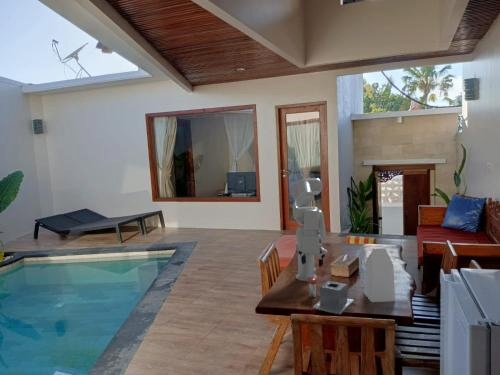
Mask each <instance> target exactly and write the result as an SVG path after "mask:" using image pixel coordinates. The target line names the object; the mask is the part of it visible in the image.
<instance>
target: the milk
mask: <svg viewBox="0 0 500 375" xmlns="http://www.w3.org/2000/svg"><path fill="white" fill-rule="evenodd" d="M394 268H395V267H394V263H393V261H392V259H391V256H390V254H389V253H388V251H387V249H386V248H385V247H373V248H372V250H371V252H370V254H369V255H368V257H367V258H366V260H365V273H364V274H365V275H364V288H363V289H364V291H363V293H364V295H365V296H366V298H367V297H368V298H367V299H368V300H369V301H370V302H371V303H382V302H384V303H385V302H396V294H395V293H396V292H395V272H394V270H395V269H394Z"/></svg>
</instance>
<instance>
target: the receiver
mask: <svg viewBox="0 0 500 375" xmlns="http://www.w3.org/2000/svg"><path fill="white" fill-rule="evenodd" d="M354 302H355V300H354V299H353V298H348V284H347V283H342V282H337V281H332V280H327V281H325V283H323V284H322V285H320V286H319V301H318V302H317V303H315V304H314V305H313V306H312V309H314V310H319V311H324V312H327V313H331V314H335V315H336V314H337V315H340V316H341V315H342V314H343V313H344V312H345V311H346V310H347V309H348V308H349V307H350V306H352V305H353V303H354Z"/></svg>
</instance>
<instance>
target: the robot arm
mask: <svg viewBox="0 0 500 375" xmlns="http://www.w3.org/2000/svg"><path fill="white" fill-rule="evenodd" d="M322 190H323V183H322V180H321V179H320V178H319V177H317V178H315V177H314V178H312V177H311V178H300V179H299V180H298V181H295V182H292V183H291V186H290V193H291V196H292V199H293V203H292V215H293V218H294V220H295V221H296V222H297V223H298V225H300V226H298V227H297V228H296V231H295V235H296V236H295V237H296V242H297V247H296V251H297V265H298V268H297V270H298V271H297V272H298V273H297V274H296V275H295V278H296V280H298V281H301V282H307V278H309V277H316V278H318V276H317V274H315V272H316V271H317V268H316V267H315V256H317V257H318V258H319V259H318V267H319V268H321V267H322V266H323V265H324V258H326V256H327V255H328V253H329V252H328V250H327V249H326V248H324V247H323V242H325V241H326V240H327V239H326V237H327V232H326V223H325V215H324V212H323V211H322V210H321V209H320V208H318V207H317V206H311V203H312V202H313V201H314V199H315V196H317V195H319V194H320V193H321V192H322Z"/></svg>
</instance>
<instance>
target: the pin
mask: <svg viewBox="0 0 500 375" xmlns="http://www.w3.org/2000/svg"><path fill="white" fill-rule="evenodd" d="M306 282H307V283H308V284H309V297H310V298H316V296H317V295H316V294H317V290H316V289H317V288H316V286H317V283H319V279H318V277H317V278H316V277H309V278H307V281H306Z"/></svg>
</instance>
